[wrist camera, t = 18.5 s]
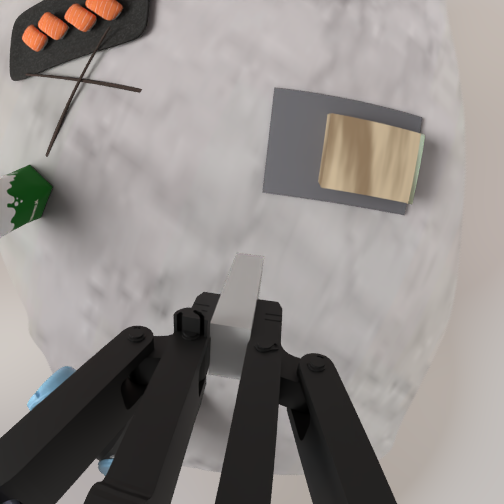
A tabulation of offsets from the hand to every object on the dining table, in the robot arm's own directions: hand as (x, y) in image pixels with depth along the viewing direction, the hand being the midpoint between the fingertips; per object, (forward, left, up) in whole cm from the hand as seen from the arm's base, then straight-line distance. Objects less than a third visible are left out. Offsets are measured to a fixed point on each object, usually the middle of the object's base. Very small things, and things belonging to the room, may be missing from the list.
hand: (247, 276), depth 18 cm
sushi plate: (-33, +17, -27) cm, 46 cm away
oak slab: (+6, +6, -24) cm, 25 cm away
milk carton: (-41, -4, -27) cm, 49 cm away
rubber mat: (+9, +6, -26) cm, 28 cm away
